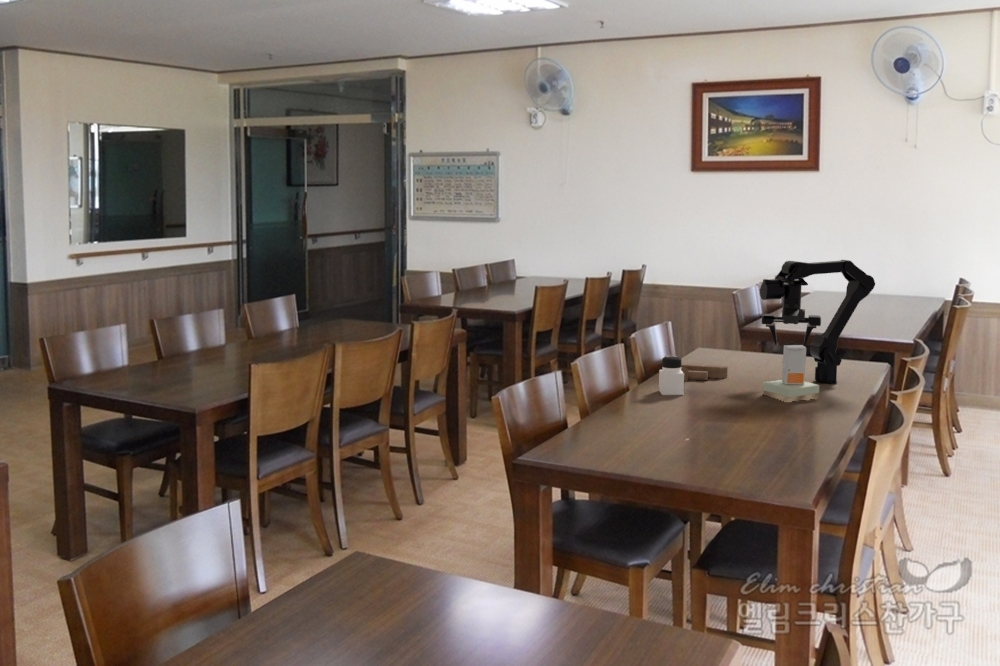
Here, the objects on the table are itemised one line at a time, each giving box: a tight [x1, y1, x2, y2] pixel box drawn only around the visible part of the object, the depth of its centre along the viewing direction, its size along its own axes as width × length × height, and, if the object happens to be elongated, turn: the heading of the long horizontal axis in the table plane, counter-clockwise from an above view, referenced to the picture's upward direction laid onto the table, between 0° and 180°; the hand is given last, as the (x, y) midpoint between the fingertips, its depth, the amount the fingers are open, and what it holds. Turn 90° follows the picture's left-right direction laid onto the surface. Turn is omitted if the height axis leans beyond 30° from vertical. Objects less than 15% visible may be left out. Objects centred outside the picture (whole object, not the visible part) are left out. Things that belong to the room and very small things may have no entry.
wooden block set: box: [681, 362, 729, 382], centre depth 324 cm, size 17×6×18 cm
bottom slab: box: [762, 389, 820, 403], centre depth 297 cm, size 12×12×2 cm
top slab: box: [762, 379, 820, 397], centre depth 297 cm, size 12×12×2 cm
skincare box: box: [781, 344, 807, 385], centre depth 296 cm, size 6×4×12 cm
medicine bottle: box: [658, 355, 685, 396], centre depth 304 cm, size 7×7×12 cm
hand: (790, 345), depth 315 cm, fingers open, 9 cm apart
